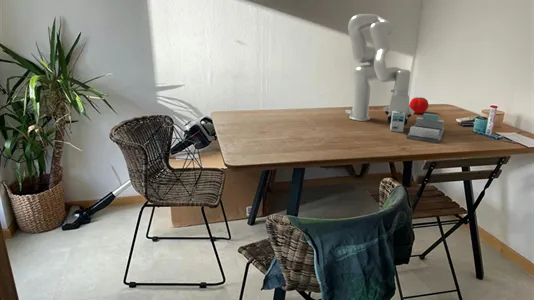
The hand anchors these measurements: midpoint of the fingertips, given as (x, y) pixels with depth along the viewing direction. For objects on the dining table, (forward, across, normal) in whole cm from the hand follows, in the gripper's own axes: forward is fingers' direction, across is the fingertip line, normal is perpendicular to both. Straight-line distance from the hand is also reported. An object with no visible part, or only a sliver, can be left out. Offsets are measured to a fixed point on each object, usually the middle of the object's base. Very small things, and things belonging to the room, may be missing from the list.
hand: (397, 123), depth 236 cm
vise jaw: (+1, +16, +10) cm, 19 cm away
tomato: (+3, +5, +44) cm, 44 cm away
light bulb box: (+3, 0, 0) cm, 3 cm away
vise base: (+3, +16, -2) cm, 16 cm away
